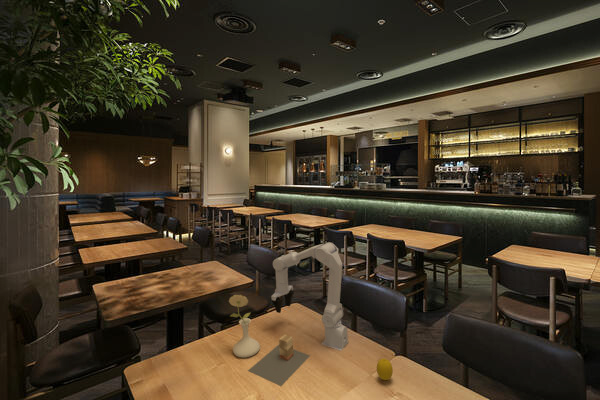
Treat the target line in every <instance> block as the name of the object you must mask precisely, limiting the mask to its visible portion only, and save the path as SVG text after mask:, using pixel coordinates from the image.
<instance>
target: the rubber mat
mask: <svg viewBox="0 0 600 400" xmlns="http://www.w3.org/2000/svg"><path fill="white" fill-rule="evenodd" d="M310 357H311V355H310V354H307V353H306V352H302V351H299V350H296V349H295V348H293V356H292V357H291V358H290V359H289V360H288V361H287V360H284V359H282V358H280V350H279V344H277V345H276V346H275V347H274V348H272V350H270V351H269V352H267V353H266V354H265V355H264V356H263V357H262V358H261V359H260V360H259V361H257V362H256V363H255V364H254V365H252V367H250V368H249V369H247V371H248V372H249V373H252V374H254V375H255V376H258V377H259V378H262V379H264V380H267V381H268V382H271V383H273V384H276V386H277V385H278V386H280V387H282V386H283V385H284V384H285V383H286V382H288V380H289V378H291V377H292V376H293V375H294V373H295V372H296V371H297V370H298V369H299V368H300V367H301V366H302V365H303V364H304V363H305V362H306V361H307V360H308V359H309V358H310Z"/></svg>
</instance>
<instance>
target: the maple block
mask: <svg viewBox="0 0 600 400" xmlns="http://www.w3.org/2000/svg"><path fill="white" fill-rule="evenodd" d="M278 345H279V350H280V358H282V359H284V360H287V361H288V360H289V359H290V358H291V357H292V356H293V349H294V338H293V336H291V335H288V334H283V335H282V336H281V337H280V338H279V339H278Z"/></svg>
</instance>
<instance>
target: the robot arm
mask: <svg viewBox="0 0 600 400" xmlns="http://www.w3.org/2000/svg"><path fill="white" fill-rule="evenodd" d="M311 257H312V258H313V259H316V261H318V262H320V263H321V264H323V265H324V266H326V267H327V268H328V270H329V271H328V285H327V303H326V304H325V307H324V310H323V311H324V312H323V314H322V316H321V321H322V324H323V325H324V340H323V341H322V342H321V345H322V346H325V347H329V348H331V349H334V350H337V351H339V352H341V351H343V349H344V348H345V347H346V345H348V343H349V339H348V338H349V337H348V335H349V333H348V327H347V326H345V325H343V324H342V318H343V316H344V311H343V304H342V303H340V302H341V300H340V299H341V290H342V289H341V287H342V277H343V276H342V275H343V274H342V273H343V262H342V260H341V257H340V254H339V248H338V247H337V246H336V245H335V244H334V243H333V242H325V244H324V243H321V244H318V245H314V246H312V247H309V248H307V249H305V250H302V251H300V252H297V251H288V253H287V254H283V255H281V256H279V257H277V258H275V259H274V260H273V261H272V267H273V269H274V270H275V286H276V288H275V289H274V293H273V294H272V295H271V297H270V302H272V304H273V305H274V308H275V312H276V313H278V314H281V312H282V304H283V299H281V298H280V297H281V296H283V297H284V302H285V303H284V304H285V306H286V307H291V303H292V299H293V296H294V293H295V290H294V287H293V285H289V278H288V277H289V274H288V270H289V268H290V267H293V266H295V265H297V264H299V263H300V262H301V260H304V259H306V258H311ZM293 290H294V291H293Z"/></svg>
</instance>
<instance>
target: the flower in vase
mask: <svg viewBox="0 0 600 400" xmlns="http://www.w3.org/2000/svg"><path fill="white" fill-rule="evenodd" d="M228 302H229V304H230V305H231V306H234V307H237V313H234V312H233V313H232V314H230V315H229V317H231V318H232V317H234V318H238V317H240V319H239V321H238V323H239V324H240V325H241V328H242V338H241V339H239V340H238V341H237V342H236V343H235V344H234V346H233V348H232V352H233V354H234V355H235V356H236V357H239V358H249V357H252V356H254V355H256V354H257V353H258V352H259V350H260V348H261V345H260V343H259V341H257V340H256V339H254V338H253V337H251V336H250V335H249V326H250V324H251V322H252V319H250V318H248V317H249V316H250V315H251V312H247V313H245V314H244V315H243V316H241V315H240V311H239V310H240V308H242V307H245V306H247V305H248V303H249V299H248V297H246V296H245V295H242V294H234V295H233V296H231V297H229V300H228Z"/></svg>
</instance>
